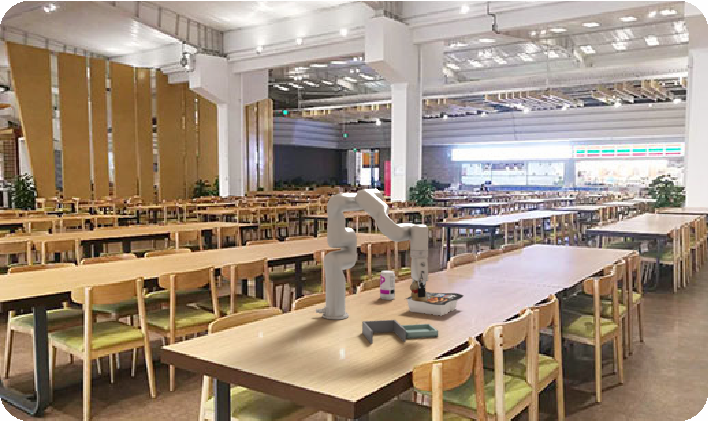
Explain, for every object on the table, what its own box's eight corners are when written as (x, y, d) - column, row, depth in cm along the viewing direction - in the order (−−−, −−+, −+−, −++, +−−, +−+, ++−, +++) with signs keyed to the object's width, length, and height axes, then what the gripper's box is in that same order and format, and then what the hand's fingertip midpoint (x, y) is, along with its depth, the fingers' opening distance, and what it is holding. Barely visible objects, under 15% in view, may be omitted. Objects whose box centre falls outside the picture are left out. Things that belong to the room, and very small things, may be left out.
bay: (370, 343, 225) (370, 331, 225) (362, 332, 241) (362, 321, 241) (405, 341, 228) (405, 329, 228) (395, 331, 244) (395, 319, 244)
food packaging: (444, 303, 266) (402, 297, 278) (444, 319, 266) (402, 312, 278) (463, 294, 287) (423, 289, 299) (463, 308, 288) (423, 303, 299)
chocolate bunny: (420, 298, 243) (420, 275, 243) (429, 301, 236) (429, 278, 236) (408, 299, 241) (408, 276, 241) (417, 302, 234) (417, 279, 234)
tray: (407, 338, 233) (407, 332, 233) (399, 330, 244) (399, 325, 244) (438, 336, 236) (438, 330, 235) (429, 329, 247) (429, 323, 247)
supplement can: (382, 300, 305) (382, 273, 304) (378, 297, 313) (378, 270, 312) (396, 299, 307) (397, 272, 307) (391, 296, 315) (392, 270, 315)
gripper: (434, 256, 230) (433, 299, 231) (421, 251, 247) (420, 290, 248) (416, 256, 229) (416, 300, 230) (404, 251, 246) (404, 291, 247)
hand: (418, 294), depth 239 cm, fingers closed on chocolate bunny, 6 cm apart
